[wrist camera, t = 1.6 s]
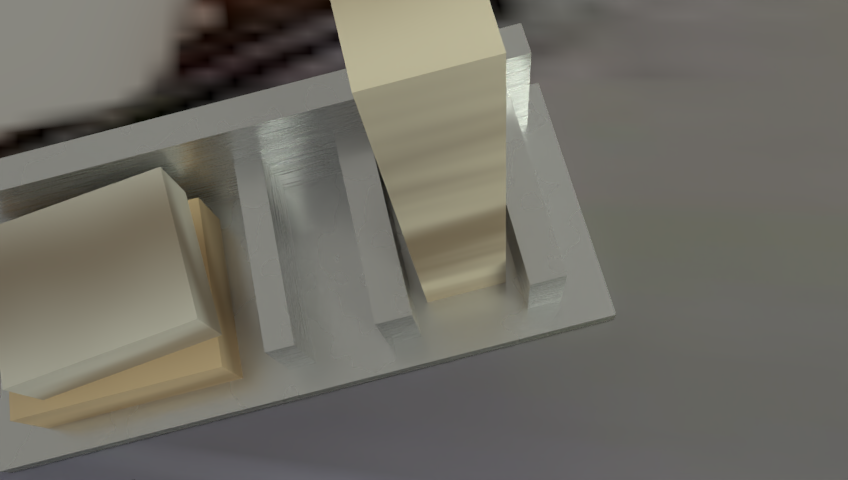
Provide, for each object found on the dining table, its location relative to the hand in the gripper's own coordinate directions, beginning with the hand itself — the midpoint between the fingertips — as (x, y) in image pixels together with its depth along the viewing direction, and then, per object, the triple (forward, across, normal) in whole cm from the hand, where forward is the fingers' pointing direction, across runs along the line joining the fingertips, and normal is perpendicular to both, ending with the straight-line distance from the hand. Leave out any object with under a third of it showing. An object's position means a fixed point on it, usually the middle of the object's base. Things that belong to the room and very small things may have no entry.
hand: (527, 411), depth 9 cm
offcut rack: (+15, +5, +4) cm, 16 cm away
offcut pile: (+14, +10, +4) cm, 18 cm away
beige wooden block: (+14, 0, +4) cm, 15 cm away
